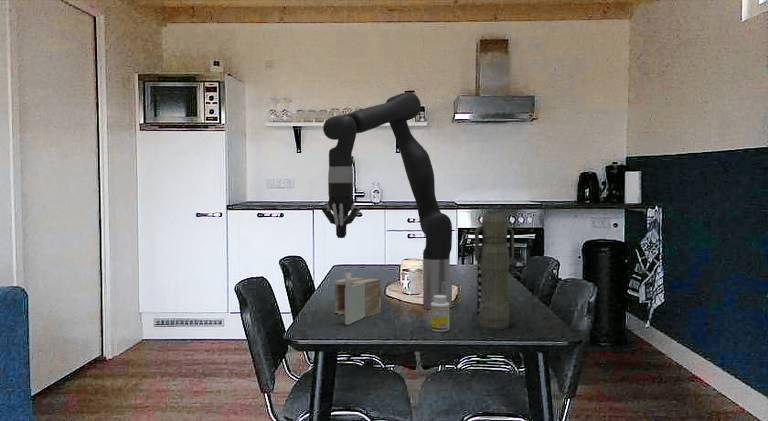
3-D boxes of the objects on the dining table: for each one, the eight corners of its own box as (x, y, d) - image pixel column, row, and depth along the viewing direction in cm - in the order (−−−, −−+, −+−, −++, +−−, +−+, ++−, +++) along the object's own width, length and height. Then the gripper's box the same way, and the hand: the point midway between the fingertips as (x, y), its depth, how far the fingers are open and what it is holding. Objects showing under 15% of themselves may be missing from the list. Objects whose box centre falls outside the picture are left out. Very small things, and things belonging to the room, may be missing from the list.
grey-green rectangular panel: (361, 316, 214) (361, 268, 214) (366, 317, 214) (366, 268, 213) (343, 324, 203) (343, 273, 202) (349, 324, 202) (348, 273, 202)
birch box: (380, 312, 223) (380, 279, 222) (364, 317, 214) (364, 283, 214) (351, 308, 229) (350, 277, 228) (334, 313, 220) (334, 281, 220)
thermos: (518, 328, 198) (519, 211, 196) (481, 330, 195) (481, 212, 194) (506, 322, 207) (507, 210, 205) (471, 323, 204) (471, 210, 202)
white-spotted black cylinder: (487, 319, 211) (487, 256, 210) (472, 314, 218) (472, 254, 217) (508, 316, 215) (508, 255, 214) (492, 311, 222) (492, 252, 221)
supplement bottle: (438, 327, 200) (437, 293, 199) (453, 329, 196) (453, 295, 196) (427, 330, 196) (426, 296, 195) (442, 333, 192) (442, 298, 192)
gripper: (365, 181, 203) (365, 237, 204) (328, 181, 209) (328, 236, 210) (353, 181, 197) (354, 239, 198) (315, 181, 202) (316, 238, 203)
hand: (341, 237), depth 204 cm, fingers closed
